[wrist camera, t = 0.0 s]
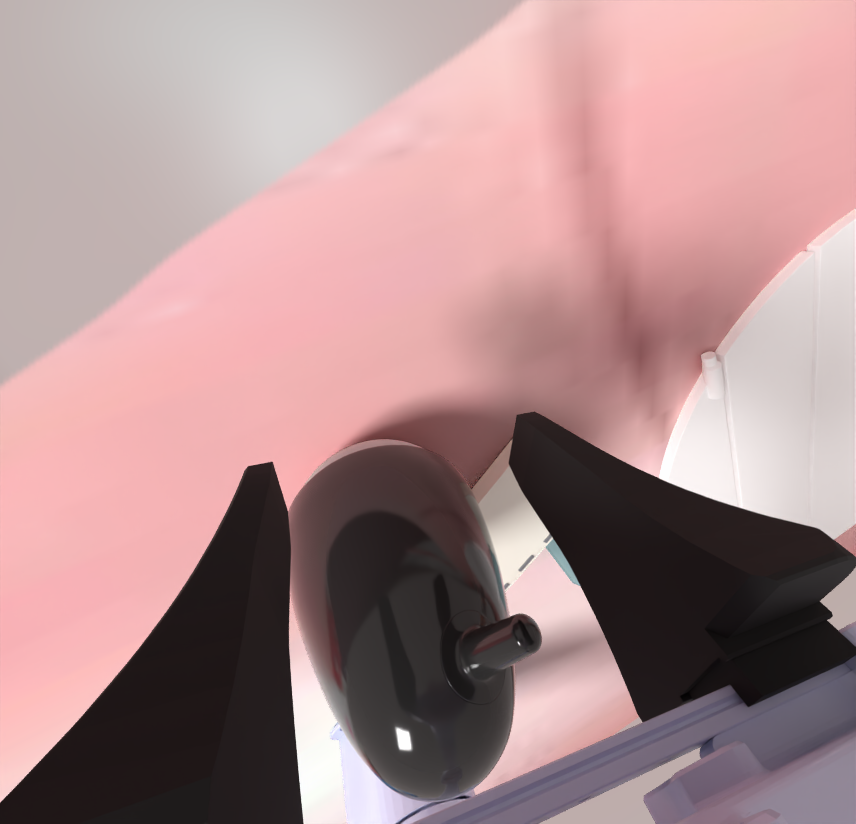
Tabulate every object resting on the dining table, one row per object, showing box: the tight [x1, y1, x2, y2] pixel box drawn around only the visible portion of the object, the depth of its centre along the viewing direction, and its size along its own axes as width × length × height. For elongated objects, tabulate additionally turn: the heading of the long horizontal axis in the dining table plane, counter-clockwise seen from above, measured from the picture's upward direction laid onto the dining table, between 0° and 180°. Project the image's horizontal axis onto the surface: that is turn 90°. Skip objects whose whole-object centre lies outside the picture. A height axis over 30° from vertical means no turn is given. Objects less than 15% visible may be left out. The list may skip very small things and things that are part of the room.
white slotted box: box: [471, 438, 553, 592], centre depth 29 cm, size 15×8×2 cm, turn 142°
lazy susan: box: [659, 208, 856, 540], centre depth 36 cm, size 40×39×3 cm
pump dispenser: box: [288, 439, 542, 802], centre depth 18 cm, size 10×10×15 cm
